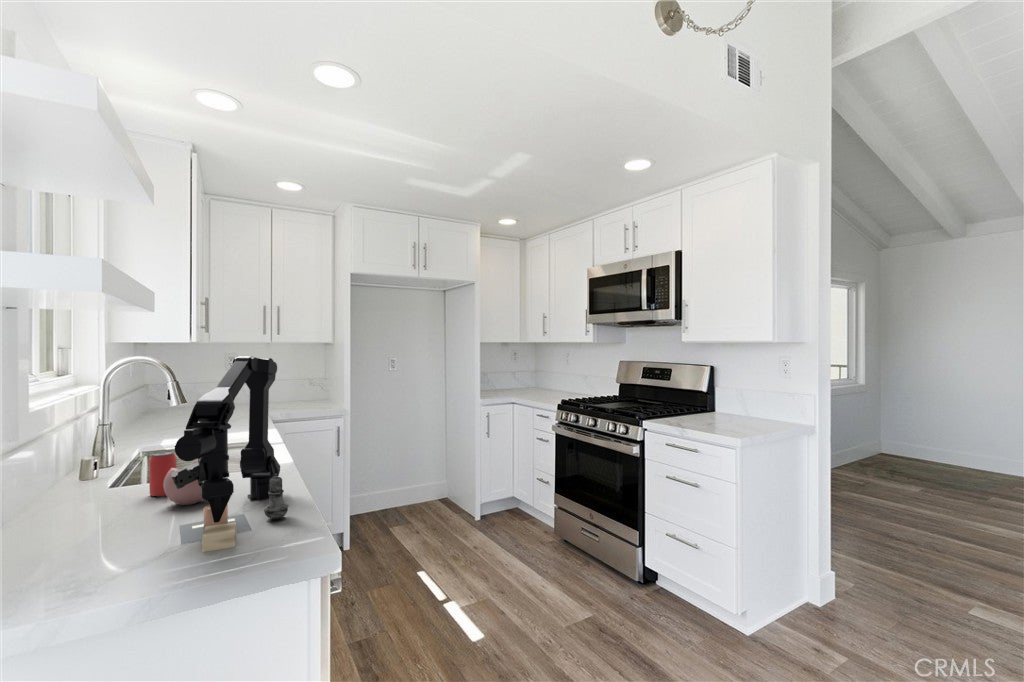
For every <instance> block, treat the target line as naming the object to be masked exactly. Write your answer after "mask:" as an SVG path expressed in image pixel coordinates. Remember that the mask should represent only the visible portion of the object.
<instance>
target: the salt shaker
mask: <svg viewBox="0 0 1024 682" xmlns="http://www.w3.org/2000/svg"><path fill="white" fill-rule="evenodd" d="M284 492H285V490H284V489H283V478H282V477H280V476H277V474H276V473H275V476H274V477H273V478H271V479H270V491H269V492H268V494H270V498H269V502H268V505H266V506H264V507H263V511H264V514H265V516H266V517H267V518H268V519H267V520H266V523H270V524H277V523H281V522H284V521H286V520H287V517H286V514H287V513H288V511H289V507H290V504H289V503H285V502H284V496H283V494H284Z"/></svg>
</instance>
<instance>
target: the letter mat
mask: <svg viewBox="0 0 1024 682" xmlns="http://www.w3.org/2000/svg"><path fill="white" fill-rule="evenodd" d="M234 522H236V535H238V534H243V533H246V532H251V531H253V529H252V527H251V525H250V523H249V520H248V518H247V516H246V514H245V513H241V514H240V513H239V514H235V515H229V516H228V523H234ZM203 532H204V520H202V521H196V522H190V523H185V524H181V525H180V524H179V536H180V545H182V546H183V545H187V544H192V543H197V542H202V536H203Z"/></svg>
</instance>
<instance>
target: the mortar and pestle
mask: <svg viewBox="0 0 1024 682" xmlns="http://www.w3.org/2000/svg"><path fill="white" fill-rule="evenodd" d="M196 462H198V460H196V461H195V460H194V462H192V463H191V464H194V463H196ZM179 469H180V468H178V467H177V468H171V469H170V470H169V472H168V473H167V475H166V477H165V479H164V491H165V494H166V496H165V497H167V498H168V499H169V500H170V501H172V503H175V504H176V505H177V504H178V505H182V506H183V505H185V506H189V505H194V504H197V503H199V502H201V501H203V499H202V496H201V486H199V485H198V481H197V480H196V481H193V482H191V483H189V484H187V485H185V486H184V487H182V488H180V489H177V488H176V486H175V484H174V481H173V479H172V477H171V473H173V472H175V471H177V470H179Z"/></svg>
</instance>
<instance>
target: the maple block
mask: <svg viewBox="0 0 1024 682" xmlns="http://www.w3.org/2000/svg"><path fill="white" fill-rule="evenodd" d="M236 541H237V534H236V522H234V523H227V524H220V525H213V526H207V527H205V529H204V532H203V536H202V541H201V543H202V544H201V545H202V553H206V552H212V551H217V550H222V549H223V550H225V549H228V548H235V547H236Z"/></svg>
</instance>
